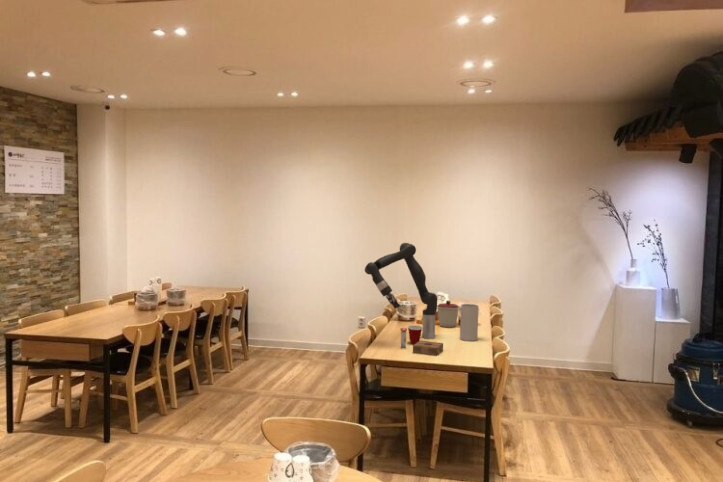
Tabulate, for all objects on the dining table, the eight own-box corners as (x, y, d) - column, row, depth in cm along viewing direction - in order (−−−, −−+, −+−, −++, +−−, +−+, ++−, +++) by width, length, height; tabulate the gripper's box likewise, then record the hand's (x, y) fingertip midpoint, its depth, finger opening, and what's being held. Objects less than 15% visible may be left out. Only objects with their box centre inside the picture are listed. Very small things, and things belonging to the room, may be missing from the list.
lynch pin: (401, 346, 390) (401, 327, 389) (407, 347, 388) (407, 328, 388) (399, 348, 386) (399, 328, 385) (405, 349, 384) (405, 329, 383)
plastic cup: (409, 345, 394) (409, 328, 394) (405, 342, 405) (405, 325, 404) (424, 345, 396) (424, 328, 396) (419, 341, 407) (420, 325, 406)
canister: (434, 327, 459) (435, 301, 458) (438, 323, 476) (439, 298, 475) (457, 329, 454) (458, 302, 453) (460, 325, 471) (460, 299, 470)
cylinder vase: (477, 341, 411) (478, 307, 409) (459, 340, 413) (460, 306, 412) (477, 338, 423) (478, 304, 422) (460, 337, 425) (461, 303, 424)
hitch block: (420, 347, 389) (420, 340, 388) (443, 350, 382) (443, 343, 382) (412, 352, 374) (413, 345, 374) (436, 355, 368) (436, 348, 367)
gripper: (386, 285, 386) (400, 305, 383) (390, 284, 400) (403, 303, 397) (377, 291, 387) (391, 311, 384) (381, 290, 401) (395, 309, 398)
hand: (397, 307), depth 391 cm, fingers open, 8 cm apart
